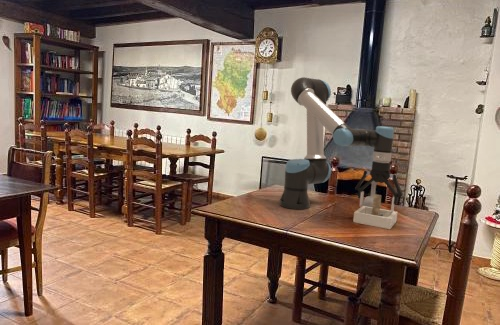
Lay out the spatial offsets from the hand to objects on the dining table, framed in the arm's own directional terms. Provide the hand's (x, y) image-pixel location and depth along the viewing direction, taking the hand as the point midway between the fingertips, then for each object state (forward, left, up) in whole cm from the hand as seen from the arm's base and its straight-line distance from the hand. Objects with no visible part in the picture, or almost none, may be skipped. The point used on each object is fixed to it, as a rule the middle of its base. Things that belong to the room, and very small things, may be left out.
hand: (376, 208), depth 166 cm
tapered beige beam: (0, 0, -5) cm, 5 cm away
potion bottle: (-6, +19, -6) cm, 21 cm away
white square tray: (0, 0, -6) cm, 6 cm away
